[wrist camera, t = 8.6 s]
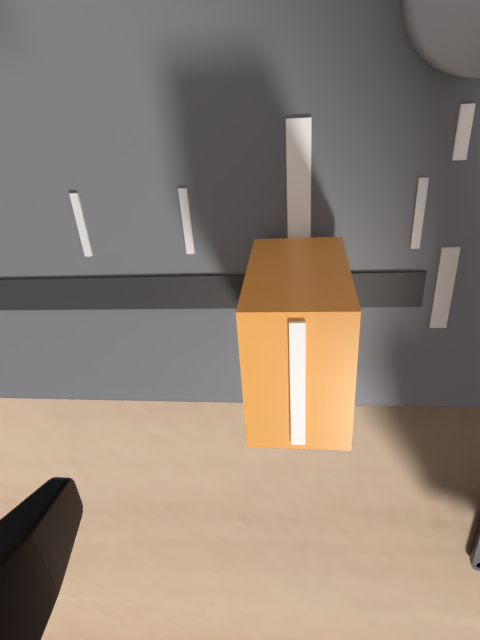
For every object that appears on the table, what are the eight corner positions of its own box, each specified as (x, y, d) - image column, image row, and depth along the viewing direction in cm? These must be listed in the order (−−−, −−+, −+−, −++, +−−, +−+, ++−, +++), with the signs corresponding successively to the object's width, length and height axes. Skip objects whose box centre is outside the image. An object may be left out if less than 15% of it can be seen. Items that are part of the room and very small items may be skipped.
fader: (337, 347, 18) (351, 452, 13) (260, 347, 18) (246, 449, 13) (341, 236, 15) (361, 313, 11) (254, 239, 16) (235, 314, 11)
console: (525, 379, 20) (573, 446, 17) (-9, 372, 24) (-64, 427, 20) (695, -195, 11) (875, -313, 8) (-193, -73, 15) (-348, -117, 11)
